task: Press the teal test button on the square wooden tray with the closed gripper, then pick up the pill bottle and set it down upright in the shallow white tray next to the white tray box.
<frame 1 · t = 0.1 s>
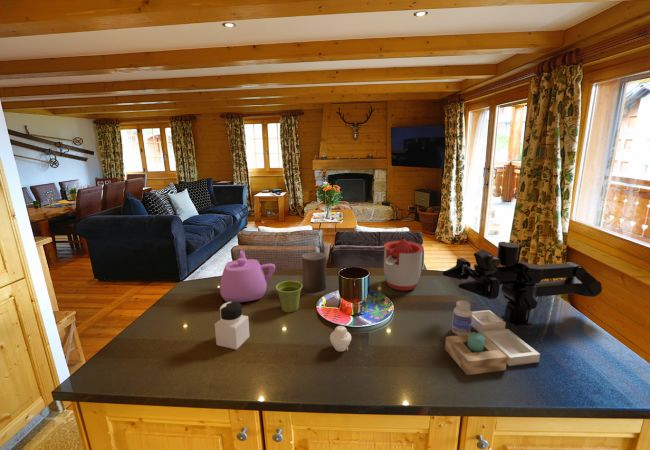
hand: (450, 279, 102), 17 cm above the kitchen island, tool horizontal, fingers open, 9 cm apart
white rounded piece: (340, 348, 95), on the kitchen island
plant pot: (289, 308, 118), on the kitchen island
white tray box: (484, 326, 106), on the kitchen island
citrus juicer: (400, 286, 136), on the kitchen island
square wooden tray: (473, 359, 90), on the kitchen island
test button: (475, 343, 89), point 5 cm above the kitchen island, slide at 0.0 cm
teapot: (244, 295, 129), on the kitchen island
medicine bottle: (233, 341, 99), on the kitchen island
shallow white tray: (507, 350, 94), on the kitchen island
pill bottle: (460, 332, 104), on the kitchen island
pillar candle: (314, 287, 135), on the kitchen island
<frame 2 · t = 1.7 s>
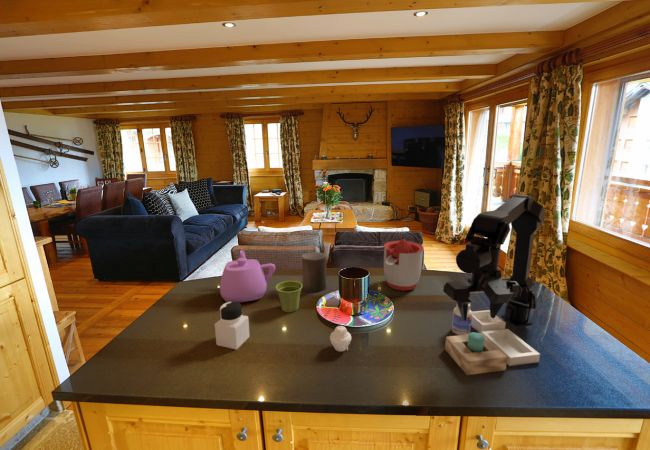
hand: (478, 318, 87), 12 cm above the kitchen island, tool pointing down, fingers open, 8 cm apart
nothing on the kitchen island moved.
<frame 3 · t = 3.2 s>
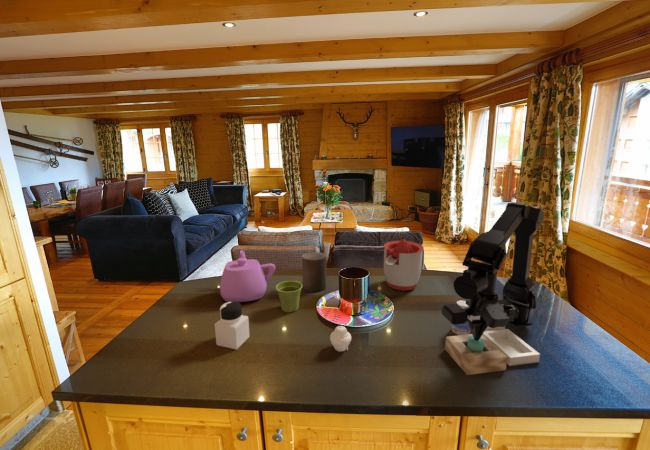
hand: (476, 339, 89), 6 cm above the kitchen island, tool pointing down, fingers closed, pressing on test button
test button: (475, 346, 89), point 4 cm above the kitchen island, slide at 1.0 cm, touching gripper
everything else where it was.
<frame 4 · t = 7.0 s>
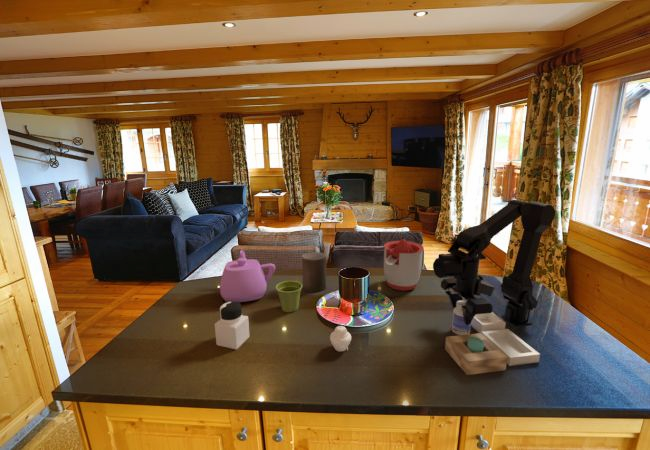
hand: (462, 319, 102), 4 cm above the kitchen island, tool pointing down, fingers closed on pill bottle, 5 cm apart
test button: (475, 347, 90), point 4 cm above the kitchen island, slide at 1.4 cm
pill bottle: (460, 331, 104), on the kitchen island, touching gripper
everything else where it was.
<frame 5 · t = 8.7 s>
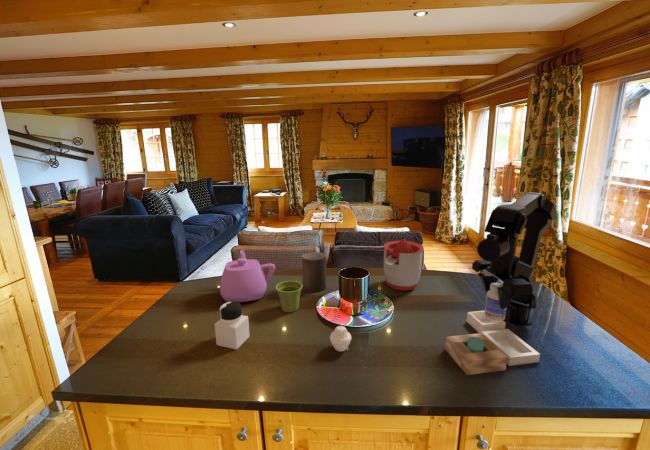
hand: (496, 303, 94), 13 cm above the kitchen island, tool pointing down, fingers closed on pill bottle, 5 cm apart
pill bottle: (494, 317, 95), point 9 cm above the kitchen island, touching gripper
everything else where it was.
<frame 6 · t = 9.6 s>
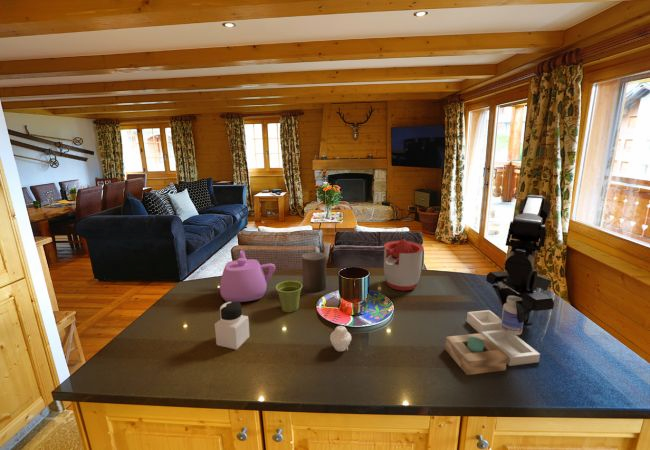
hand: (513, 317, 92), 10 cm above the kitchen island, tool pointing down, fingers closed on pill bottle, 5 cm apart
pill bottle: (510, 330, 93), point 6 cm above the kitchen island, touching gripper
everything else where it was.
when the fingers open (5 cm above the kitchen island, at t = 10.8 s): pill bottle stays where it is, resting on shallow white tray.
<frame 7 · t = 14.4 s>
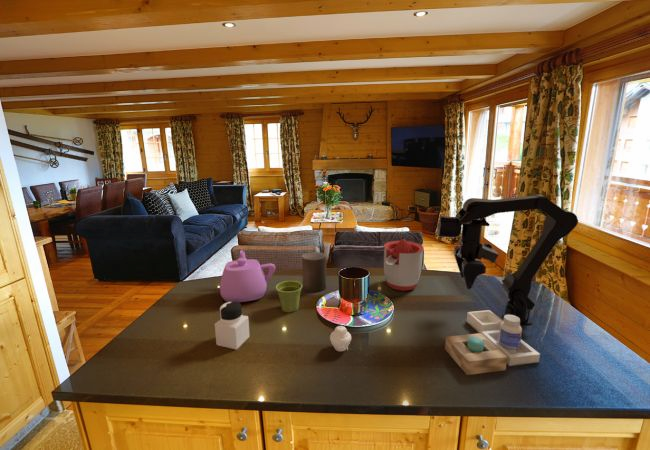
hand: (465, 282, 110), 12 cm above the kitchen island, tool pointing down, fingers open, 9 cm apart
pill bottle: (507, 349, 94), resting on shallow white tray
everything else where it was.
at the end: pill bottle inside the target area on the shallow white tray (0.1 cm from its centre), point 0.2 cm above the shallow white tray's base; pill bottle tilted 0°; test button slide at 1.4 cm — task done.
